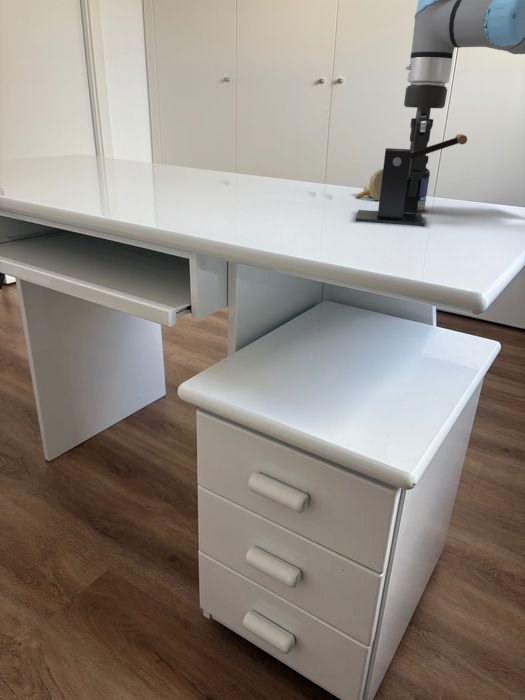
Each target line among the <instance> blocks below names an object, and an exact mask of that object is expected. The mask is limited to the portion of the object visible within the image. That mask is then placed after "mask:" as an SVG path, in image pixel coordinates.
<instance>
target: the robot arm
mask: <svg viewBox="0 0 525 700" xmlns="http://www.w3.org/2000/svg"><path fill="white" fill-rule="evenodd" d="M411 44H412V45H411V52H410V59H409V63H407V64H405V70H406V71H408V74H407V82H408V83H410V85H407V87H405V92H404V93H405V94H404V101H403V106H404V107H405V108H414V109H415V108H416V113H415V117H414V118H413V117H412V118H411V119H410V134H409V142H410V145H409V149H410V150H411V152H414V151H417V150H420V149H423V148H426V147H428V144H429V142H430V138H431V130H432V128H433V125H434V119H433V118H431V111H432V110H431V109H443V108H445V106H446V99H447V95H448V88H447V86H446V84H448V83H449V82H450V78H451V71H452V67H453V66H452V65H453V57H454V52H455V49H456V48H459V49H460V48H489V49H494V50H498V51H503V52H504V51H505V52H507V53H510V54H512V55H525V0H418V1H417V5H416V10H415V14H414V26H413V34H412V43H411ZM426 156H427V154H425V155H422V156H419V157H416V158H413V159H411V161H410V169H409V175H408V180H407V188H406V195H405V202H404V209H403V213H413V214H418V213H417V207H418V201H419V194H420V188H421V181H422V180H421V179H422V177H423V175H424V173H423V170H424V164H425V157H426Z"/></svg>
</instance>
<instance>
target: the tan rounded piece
mask: <svg viewBox="0 0 525 700" xmlns="http://www.w3.org/2000/svg"><path fill="white" fill-rule="evenodd" d="M382 175H383V168H381V169H379V170H377V171H375V172H374V173H373V174H372V175H371V176H370V178H369V180H367V181H366V182H365V183H364V185H363V191H361V192H359V193H357V194H355V196H354V197H355V198H356V199H361V198H364V197H369V198H373V199H374V200H376V201H377V202H379V200H380V192H381V183H382Z"/></svg>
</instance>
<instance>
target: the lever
mask: <svg viewBox="0 0 525 700" xmlns="http://www.w3.org/2000/svg"><path fill="white" fill-rule="evenodd" d="M467 142H468V137H467V135H465V134H463V133H458V134H456V135H455V137H453V138H449V139H447V140H444V141H441V142H438V143H435V144H432V145H429V146H427V147H426V148H423V149H420V150H417V151H414V152H411V159H413V158H416V157H419V156H422V155H425V154H426V155H427V154H431V153H434V152H436V151H440V150H444V149H445V148H448V147H453V146H454V145H459V144H460V145H465V144H467Z"/></svg>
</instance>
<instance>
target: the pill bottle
mask: <svg viewBox="0 0 525 700" xmlns="http://www.w3.org/2000/svg"><path fill="white" fill-rule="evenodd" d="M429 158H430V157H429V155H426V157H425V164H424V170H423V173H424V175H423V177H422V179H421V180H422V181H421V188H420V194H419V201H418V207H417V213H416V214H419V213H424V212H425V210H426V209H425V208H426V202H427V196H428V188H429V182H430V176H431V171H430V169H429V168H427V164H428V163H429ZM410 161H411V159H410ZM409 169H410V166H409ZM408 175H409V173H408Z"/></svg>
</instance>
